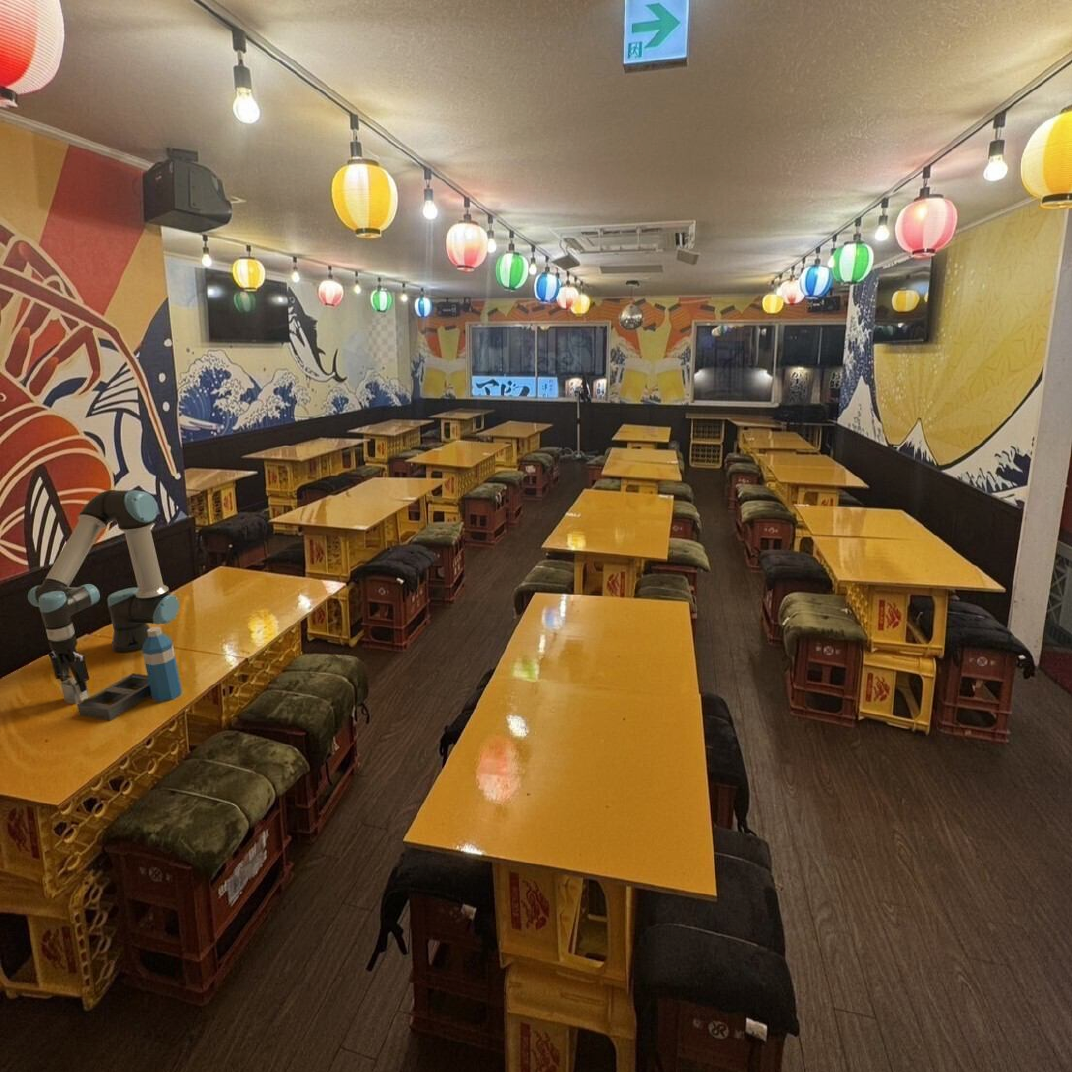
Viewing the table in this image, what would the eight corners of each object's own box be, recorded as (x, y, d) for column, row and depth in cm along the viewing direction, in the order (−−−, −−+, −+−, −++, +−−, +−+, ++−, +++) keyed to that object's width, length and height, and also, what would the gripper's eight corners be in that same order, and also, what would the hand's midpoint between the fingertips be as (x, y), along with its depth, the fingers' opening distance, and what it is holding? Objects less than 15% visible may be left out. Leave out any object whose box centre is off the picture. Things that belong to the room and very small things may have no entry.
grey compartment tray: (134, 683, 244) (132, 673, 243) (163, 687, 240) (161, 677, 239) (79, 715, 224) (77, 704, 223) (110, 720, 220) (108, 709, 219)
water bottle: (177, 685, 241) (164, 621, 234) (186, 694, 235) (173, 628, 228) (148, 695, 235) (134, 629, 228) (157, 705, 229) (142, 637, 221)
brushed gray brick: (78, 694, 237) (73, 676, 235) (89, 696, 236) (85, 678, 234) (65, 702, 232) (60, 683, 230) (76, 703, 231) (71, 685, 229)
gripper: (31, 639, 226) (48, 700, 233) (72, 644, 221) (88, 707, 228) (52, 629, 233) (67, 689, 240) (92, 634, 228) (107, 695, 235)
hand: (77, 698), depth 234 cm, fingers closed on brushed gray brick, 5 cm apart
